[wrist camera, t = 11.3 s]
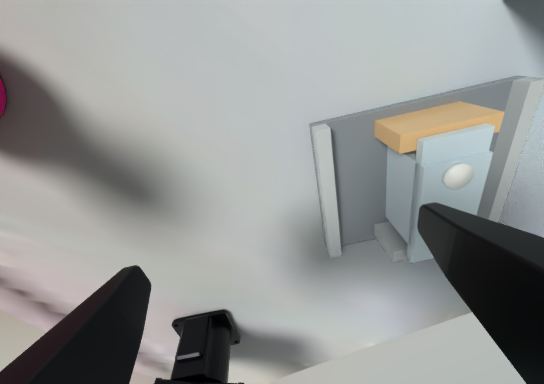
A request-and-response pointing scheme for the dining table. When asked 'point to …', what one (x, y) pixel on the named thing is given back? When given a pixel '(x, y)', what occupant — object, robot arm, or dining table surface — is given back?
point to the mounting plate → (403, 138)
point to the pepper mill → (2, 97)
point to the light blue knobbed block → (436, 180)
